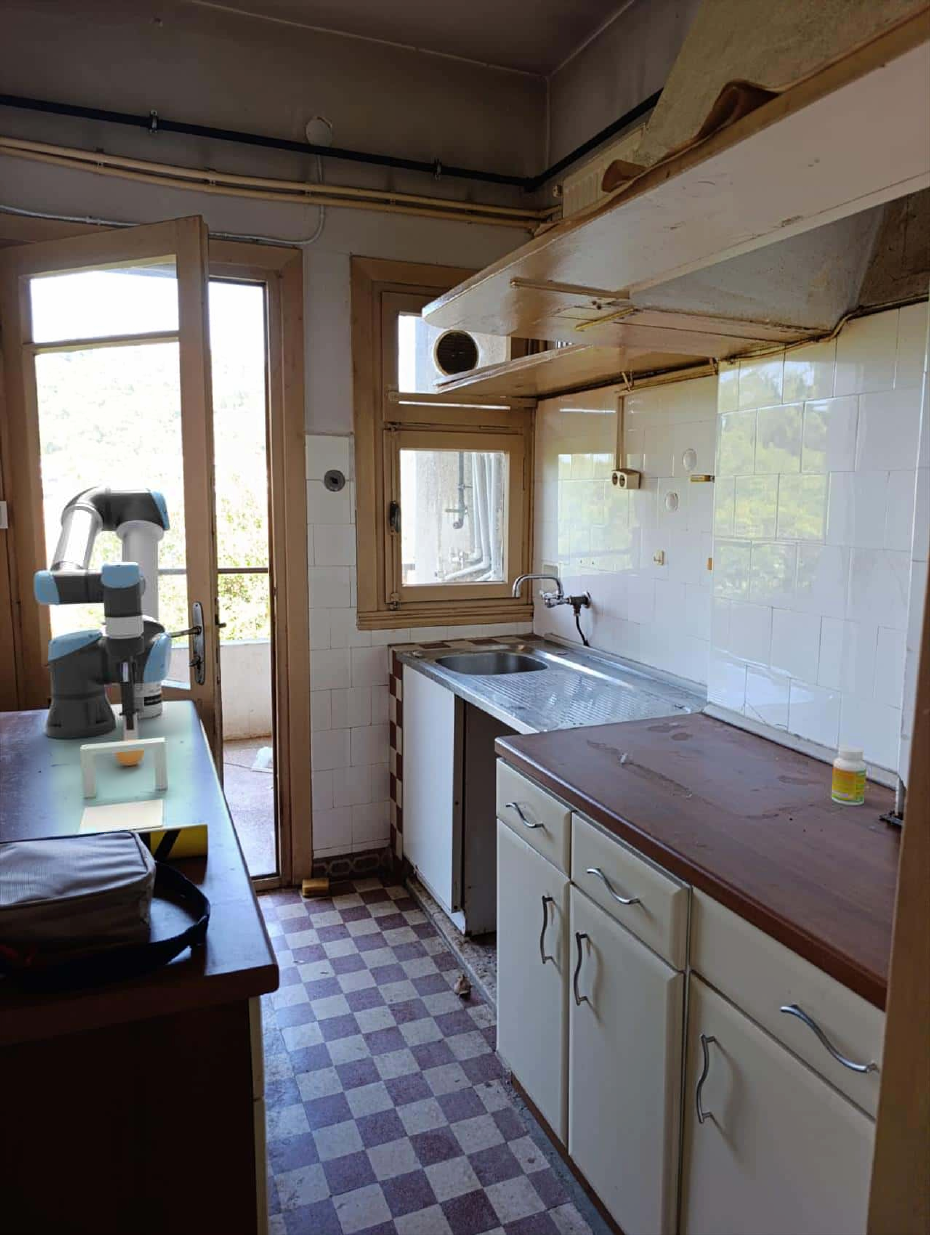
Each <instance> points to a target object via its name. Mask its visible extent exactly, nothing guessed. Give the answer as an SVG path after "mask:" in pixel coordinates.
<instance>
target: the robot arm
mask: <svg viewBox="0 0 930 1235" xmlns="http://www.w3.org/2000/svg"><path fill="white" fill-rule="evenodd" d="M60 526H61V528H62V529H61V532H60V536H59V539H58V542H57V546H56V549H55V552H54V556H53V559H52V561H51V562H52V563H51V565H50V569H45V570H39V571H37V572H36V573H35V574H34V578H33V591H34V597H35V599H36V602H37V603H38V604H40V605H43V606H44V605H45V606H47V605H48V606H62V605H63V606H65V605H84V604H85V605H86V604H91V605H92V604H103V616H104V620H101V623H100V624H101V626H105V627H104V629H105V631H104V632H105V635H104V634H103V632H102V630H101V629H86V630H80V631H75V632H70V633H66V634H62V635H59V636H56V637H54V638H53V639H51V640H49V642H48V645H47V646H48V647H47V648H48V657H47V661H48V665H49V666H48V667H49V679H50V690H51V691H50V692H51V703H50V707H49V711H48V714H47V718H46V720H45V721H46V722H45V734H46V736H48V737H49V738H55V739H80V738H81V739H82V738H86V737H87V738H89V737H95V736H98V735H102V734H105V733H109V732H111V731H113V730H115V728H116V727H117V720H116V715H115V713H114V710H113V708H112V706H111V703H110V701H109V699H108V697H107V689H106V686H112V685H113V686H114V685H115V686H116V685H119V688H120V698H121V700H120V701H121V711H119V713H118V715H119V716H120V717H121V716H122V724H123V740H125V739H135V740H139V734H138V733H139V732H138V730H139V729H138V718H137V713H136V712H139V711H140V709H139V708H136V705H137V704H136V697H135V684H137V683H145V684H147V683H150V682H159V681H161V682H163V681H164V680H165V679H166V678H167V677H168V674H169V672H170V667H171V660H172V646H173V644H172V634H170V633H168V632H166V628H165V626H164V625H163V624H162V623H161V622H159V542H160V541H162V540H163V539H164V536H165V532H167V531H170V530H171V525H170V519H169V512H168V507H167V499H166V495H165V491H164V489H163V488H162V487H161V486H159V485H158V486H156V485H155V486H154V485H147V484H144V485H143V486H142V485H98V486H94V487H91V488H88V489H85V490H83V491H81V492H80V493H78V494H76V495H75V496H74V497H73V498H72V499H71V500H69V502H67V504H66V505H65V507H64V508H63V511H62V513H61V516H60ZM101 532H115V535H116V537H117V538H118V539H119V540H120V541H121V561H115V562H106V563H104V564H102V566H101V568H99V569H89V568H90V562H91V559H92V554H93V550H94V546H95V541H96V538H97V536H98V535H99V534H100V533H101ZM103 635H104V636H103Z"/></svg>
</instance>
